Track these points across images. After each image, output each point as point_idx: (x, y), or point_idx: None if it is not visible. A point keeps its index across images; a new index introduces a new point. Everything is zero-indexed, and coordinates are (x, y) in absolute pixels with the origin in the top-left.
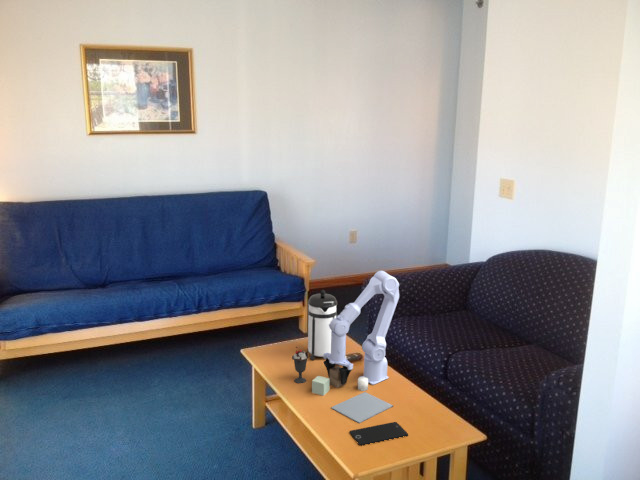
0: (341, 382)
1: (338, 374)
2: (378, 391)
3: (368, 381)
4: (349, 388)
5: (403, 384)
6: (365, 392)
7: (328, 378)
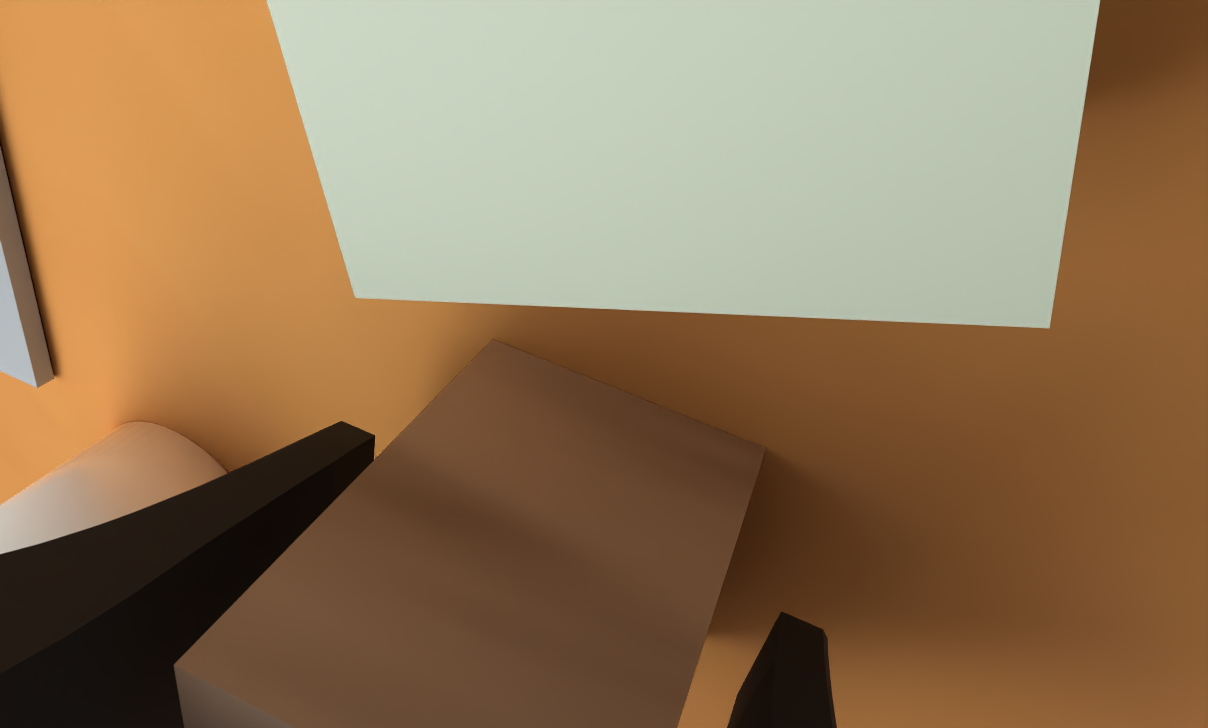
0: (328, 451)
1: (243, 626)
2: (7, 489)
3: None
4: (312, 424)
5: None
6: (17, 372)
7: (390, 277)
